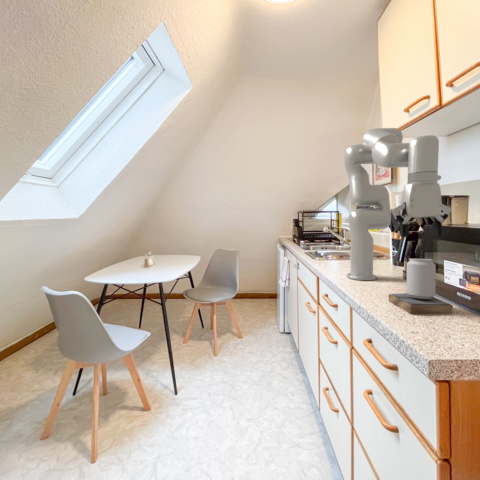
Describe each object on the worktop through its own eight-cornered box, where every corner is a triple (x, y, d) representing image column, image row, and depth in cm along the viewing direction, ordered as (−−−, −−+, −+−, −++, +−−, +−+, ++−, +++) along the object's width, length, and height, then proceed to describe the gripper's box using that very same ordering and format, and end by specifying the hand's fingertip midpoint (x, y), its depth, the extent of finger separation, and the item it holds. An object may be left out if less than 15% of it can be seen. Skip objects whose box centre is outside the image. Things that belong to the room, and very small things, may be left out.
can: (439, 300, 81) (440, 259, 81) (410, 298, 83) (411, 258, 83) (429, 295, 88) (430, 258, 88) (403, 294, 90) (403, 257, 90)
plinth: (388, 303, 92) (388, 293, 91) (424, 302, 92) (425, 292, 91) (410, 316, 80) (410, 304, 80) (452, 315, 80) (452, 304, 79)
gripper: (442, 180, 86) (439, 235, 88) (386, 182, 86) (385, 236, 88) (461, 177, 79) (458, 236, 80) (400, 178, 79) (398, 238, 80)
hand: (420, 236), depth 84 cm, fingers open, 9 cm apart
